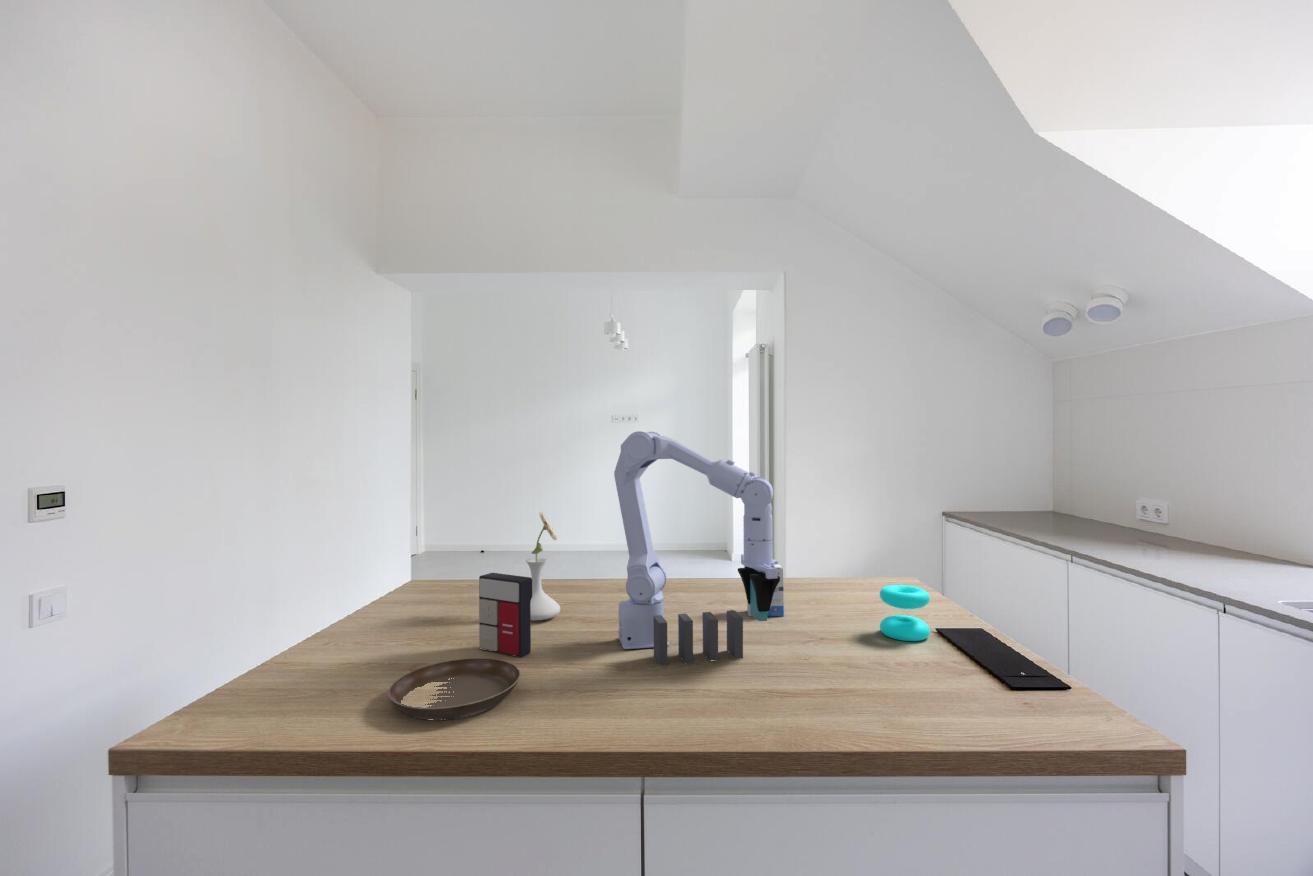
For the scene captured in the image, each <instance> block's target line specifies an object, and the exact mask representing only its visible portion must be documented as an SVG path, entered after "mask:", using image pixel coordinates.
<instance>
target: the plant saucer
mask: <svg viewBox="0 0 1313 876" xmlns="http://www.w3.org/2000/svg"><path fill="white" fill-rule="evenodd" d="M520 677H521V671H520V668H519V667H518V666H516V665H515V664H513V663H511V662H509V661H506V660H502V659H496V658H485V657H483V658H482V657H480V658H479V657H478V658H477V657H475V658H474V657H473V658H472V657H471V658H460V659H453V660H452V659H451V660H446V661H441V662H436V663H433V664H429V665H426V666H424V667H421V668H418V669H415V670H412V671H411V672H408V673H407V674H404V675H402V676H400V678H398V679H396V680H395V681H394V682H393V683H392V684H391V685H390V686H389V688H388V691H387V696H388V697H389V698H388V699H390V701H391V702H392V705H394V706H395V707H396V708H397V709H399V711H401V712H403V713H404V714H406V715H408V716H409V715H410V716H409V717H412V716H413V717H412V718H414V717H416V718H415V719H418V718H420V719H419V720H423V719H433V720H432V721H434V720H440V721H445V720H444V719H453V720H456V719H455V718H459V719H462V718H461V717H464V718H467V717H466V716H469V717H471V716H470V715H472V716H474V715H473V714H475V715H479V714H481V713H483V711H484V712H487V711H488V710H490V709H492V708H494V707H496V706H497V705H499V704H500V703H502V701H504V700H505V699H506V698H507V697H508V696H510V693H512V691H513V690H514V689H515V687H516V686H517V684H518V682H519V680H520ZM449 678H450V680H448V679H449ZM451 678H452V679H451ZM453 678H454V679H453ZM431 682H448V683H446V684H444V683H443V684H442V685H439V686H436V687H447V689H443V688H442V689H438V690H436V691H443V693H439V694H437V696H450V697H442V698H441V697H438V698H437V699H434V698H433V699H434V700H442V701H441V702H440V701H437V702H436V703H435V702H434V703H430V704H429V703H428V704H427V705H432V706H431V707H430V706H429V707H427V708H421V707H412V706H407V705H404V704H401V700H403V697H404V696H406V695H407V694H408V693H409V692H410V691H413V690H414V689H415V688H417V687H422V686H424V685H425V684H427V683H431ZM449 682H450V683H449ZM434 687H435V686H434ZM450 687H451V688H450ZM444 691H447V693H446V692H445V693H444ZM449 691H450V693H448V692H449ZM453 691H454V693H453ZM430 696H431V695H430ZM432 696H436V694H435V695H432ZM451 696H452V697H451ZM453 696H454V697H453ZM433 699H432V700H433ZM430 700H431V699H430ZM445 700H446V701H445ZM425 705H426V704H425ZM433 705H434V706H433ZM480 712H481V713H480ZM478 713H479V714H478ZM441 719H442V720H441Z"/></svg>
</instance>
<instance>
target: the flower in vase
mask: <svg viewBox="0 0 1313 876" xmlns="http://www.w3.org/2000/svg"><path fill="white" fill-rule="evenodd" d="M538 513H539V516H540V519H541V522H542V523H543V524H542V525H543V527H542V529H541V531H540V533H539V535H538V537H537V541H536V546H535V548H534V549H533V551H531V554H533V555H535V557H534V558H533V557H532V558H527V559H525V562H526V564H527V566H529V570H530V575H531V578H532V598H531V602H530V613H531V621H543V620H548V619H551V618H553V617H556V616H557V615H559V613H560V612H561V606H560V604H559V603H558V602H556V601H555V600H554V599H553V598H552V597H550V596H549V595H547V593H545V591H544V590H543V587H542V577H543V576H542V574H543V573H542V572H543V568H544V566H545V564H546V562H547V561H548V559H547V558H544V557H543V558H542V557H538V554H539V553H543V551H544V548H543V546H542V543H540V542H539V541H540V539H541V536H542V534H543V532H544V530H545V531H547V533H548V535H549V536H550V537H551V539H552V540H553V541H557V540H558V537H557V535H556V533H555V532H554V531H553V527H552V526H551V525H550V524H549V520H548V519H547V517H545V515H544V512H543V511H542V512H541V511H539V512H538Z"/></svg>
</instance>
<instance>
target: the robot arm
mask: <svg viewBox="0 0 1313 876" xmlns="http://www.w3.org/2000/svg"><path fill="white" fill-rule="evenodd" d="M658 460H672V461H673V460H674V461H676V462H677V463H680V464H682V465H684V466H686V467H688V468H691V469H693V470H694V471H697V472H698V473H700V474H703V475H705V476H706V477H707V479H708V483H709V485H711V486H713V487H715V488H716V489H718V490H720V491H722V492H724V493H725V494H728V495H730V496H731V497H734V498H735V499H741V502H742V503H743V507H744V508H743V510H744V511H743V513H744V515H743V517H742V518H743V520H742V521H743V554H741V555H740V564H741V565H742V566H744V567H739V568H737V572H738V574H739V576H740V579H741V581H742V584H743V587H744V592H745V596H746V601H748V604H750V579H751V581H752V583H753V586H754V589H755V594H756V603H757V608H758V611H759V612H766V611H769V610H770V606H771V602H772V598H773V594H774V591H775V589H776V587H777V585H778V583H779V581H780V577H779V576H778V575H777V568H776V567H775V565H776V564H779V560H778V559H774V558H773V555H774V554H773V552H774V551H773V550H774V549H773V548H774V546H773V543H774V542H773V530H774V529H773V528H774V526H773V515H772V514H773V507H772V503H771V501H772V499H773V497H774V489H773V486H772V483H770V482H769V481H768V480H767V479H766V478H764V477H762V476H756V473H755V472H754V471H752V470H751V471H750V472H748V471H747V470H745V469H743V468H741V467H738V466H737V465H735V461H733V460H731V459H727V460H725V459H719V460H716V461H713V460H712V459H709V458H708V457H706V456H704V455H703V454H701V453H699V452H697V451H696V450H694V449H692V448H690V447H688V446H686V445H685V444H683V443H682V442H680V441H678V440H675V439H673V438H671V437H668V436H665V435H660V433H658V432H655V431H647V432H646V431H640V430H639V431H638V430H637V431H634V432H632V433H630V434H629V435H628V436H627V437H626V439H624V441H623V442H622V443H621V444H620V453H619V456H618V459H617V462H616V466H615V469H614V471H613V474H614V475H613V476H614V482H615V486H616V492H617V498H618V502H619V508H620V513H621V518H622V523H623V529H624V534H625V540H626V546H627V552H628V556H629V557H628V561H627V566H626V572H627V579H626V581H625V590H626V593H627V595H628V598H629V599H627V600H621V601H619V603H618V640H619V642H620V645H621V646H622V648H623V650H635V649H637V650H638V649H646V648H647V649H648V648H654V616H656V615H662V616H663V618H664V619H665V600H664V599H665V597H664V594H663V591H662V590H663V589H664V588H665V586H666V583H667V574H666V572H665V570H664V568H663V567H662V565H661V564H660V560H659V557H658V555H657V553H656V552H655V551H654V547H653V546H654V545H653V539H652V537H651V536H652V535H651V531H650V524H649V521H648V515H647V509H646V504H645V500H644V493H643V489H642V483H641V477H642V476H643V474H644V473H645V471H646V470H647V469H648V468H649V466H650V465H652V464H654V463H655V462H656V461H658ZM755 476H756V477H755ZM755 574H758V575H755ZM669 646H670V642H669V641H668V640H667V647H669Z"/></svg>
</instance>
